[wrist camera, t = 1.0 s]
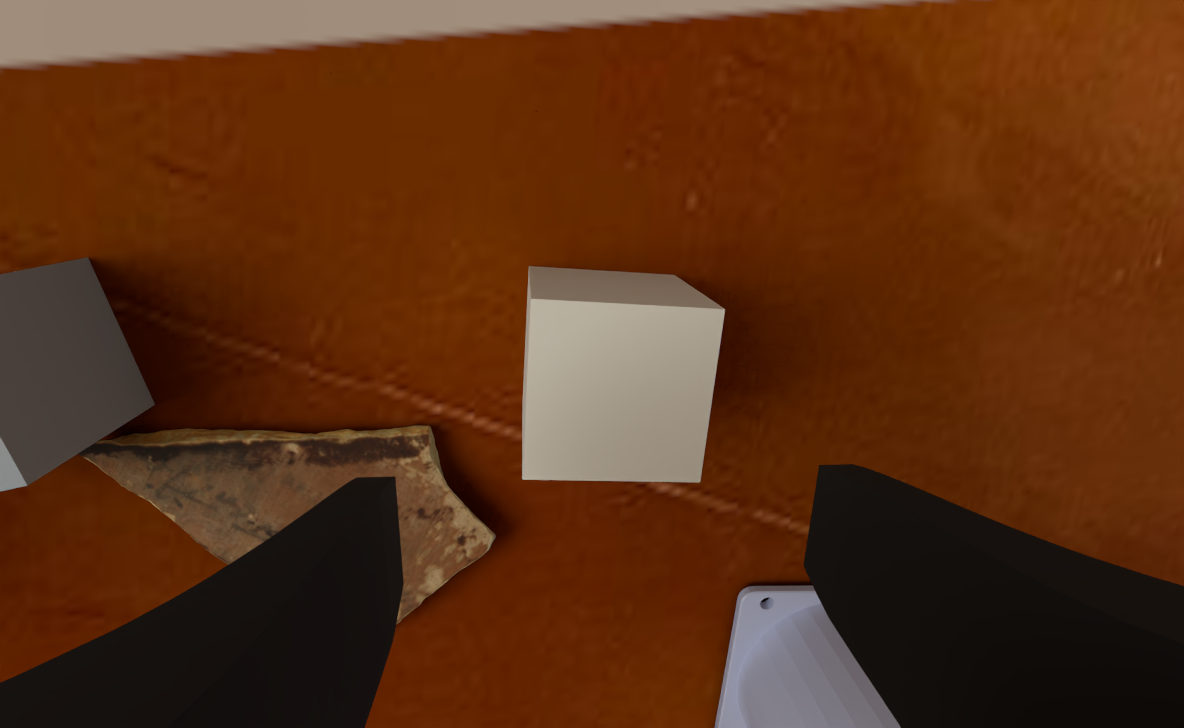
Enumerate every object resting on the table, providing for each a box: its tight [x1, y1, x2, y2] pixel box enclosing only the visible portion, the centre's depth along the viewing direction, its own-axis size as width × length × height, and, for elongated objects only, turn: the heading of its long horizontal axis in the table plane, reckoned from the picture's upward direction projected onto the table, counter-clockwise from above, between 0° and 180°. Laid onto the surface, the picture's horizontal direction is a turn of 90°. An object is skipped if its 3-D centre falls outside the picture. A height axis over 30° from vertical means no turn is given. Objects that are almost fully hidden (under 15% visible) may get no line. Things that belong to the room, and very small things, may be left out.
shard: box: [78, 425, 495, 624], centre depth 19 cm, size 11×8×2 cm
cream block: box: [522, 266, 725, 482], centre depth 17 cm, size 4×4×5 cm
